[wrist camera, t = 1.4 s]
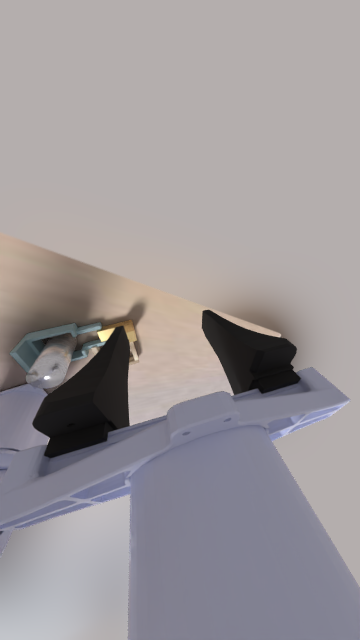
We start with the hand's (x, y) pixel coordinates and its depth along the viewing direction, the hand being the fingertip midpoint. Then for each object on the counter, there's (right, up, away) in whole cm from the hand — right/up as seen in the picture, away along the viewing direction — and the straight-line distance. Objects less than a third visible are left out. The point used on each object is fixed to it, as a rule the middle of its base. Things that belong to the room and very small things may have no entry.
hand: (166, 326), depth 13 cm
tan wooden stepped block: (-10, -1, +13) cm, 16 cm away
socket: (-16, -3, +11) cm, 20 cm away
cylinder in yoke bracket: (-18, -3, +10) cm, 21 cm away
